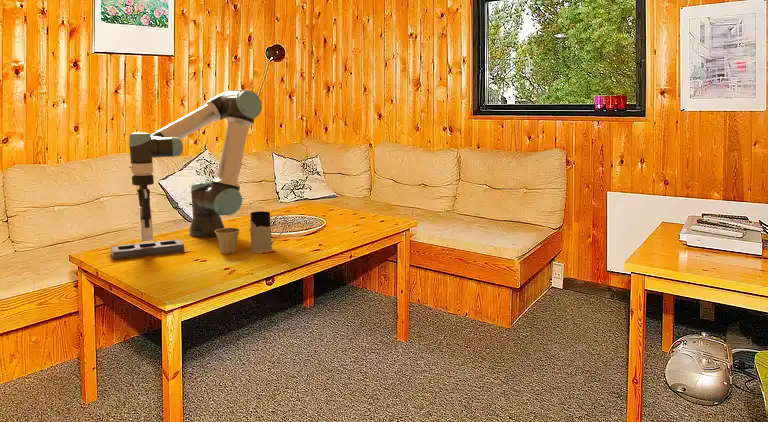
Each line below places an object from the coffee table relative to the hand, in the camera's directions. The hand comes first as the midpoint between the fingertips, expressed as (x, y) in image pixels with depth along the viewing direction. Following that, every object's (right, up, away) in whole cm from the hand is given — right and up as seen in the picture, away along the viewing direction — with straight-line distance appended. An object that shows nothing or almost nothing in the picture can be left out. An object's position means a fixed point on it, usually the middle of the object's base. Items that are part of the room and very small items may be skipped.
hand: (146, 234), depth 211 cm
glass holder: (+45, -7, +8) cm, 47 cm away
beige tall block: (0, -2, 0) cm, 2 cm away
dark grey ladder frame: (0, -7, +2) cm, 7 cm away
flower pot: (+30, -7, +4) cm, 31 cm away
